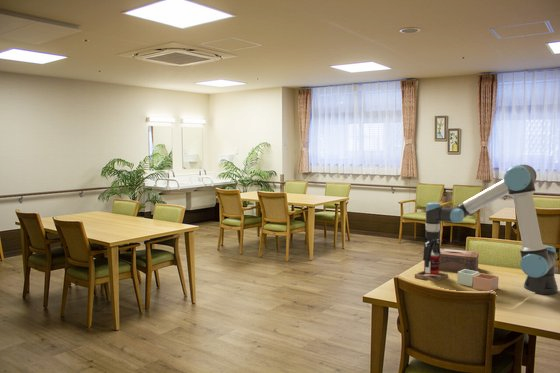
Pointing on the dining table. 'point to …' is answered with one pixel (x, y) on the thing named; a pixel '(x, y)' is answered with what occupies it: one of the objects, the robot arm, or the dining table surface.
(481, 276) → the pot
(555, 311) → the dining table surface
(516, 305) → the dining table surface
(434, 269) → the canned food
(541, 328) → the dining table surface
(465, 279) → the mint green open box
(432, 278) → the tray
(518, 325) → the dining table surface
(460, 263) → the tissue box cover
